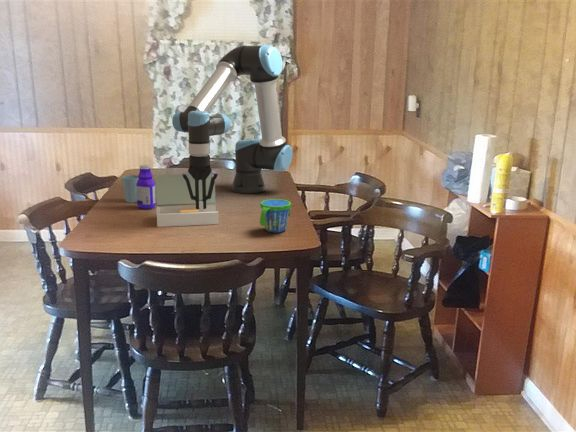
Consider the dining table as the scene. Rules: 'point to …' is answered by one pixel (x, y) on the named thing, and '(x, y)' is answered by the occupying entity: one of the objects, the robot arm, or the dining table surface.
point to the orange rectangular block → (188, 211)
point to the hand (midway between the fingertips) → (201, 217)
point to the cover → (179, 190)
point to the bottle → (146, 188)
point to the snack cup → (275, 214)
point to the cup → (130, 187)
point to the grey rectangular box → (186, 216)
